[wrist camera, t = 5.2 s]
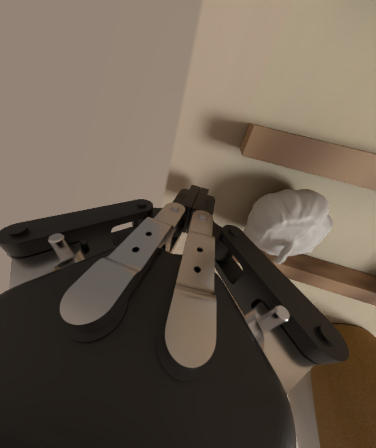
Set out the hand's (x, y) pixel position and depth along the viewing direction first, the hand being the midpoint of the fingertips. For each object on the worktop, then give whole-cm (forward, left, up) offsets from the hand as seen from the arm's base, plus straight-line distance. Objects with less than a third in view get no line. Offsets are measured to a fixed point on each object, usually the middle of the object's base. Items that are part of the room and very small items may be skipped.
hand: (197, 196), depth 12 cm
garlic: (-7, 0, -2) cm, 7 cm away
